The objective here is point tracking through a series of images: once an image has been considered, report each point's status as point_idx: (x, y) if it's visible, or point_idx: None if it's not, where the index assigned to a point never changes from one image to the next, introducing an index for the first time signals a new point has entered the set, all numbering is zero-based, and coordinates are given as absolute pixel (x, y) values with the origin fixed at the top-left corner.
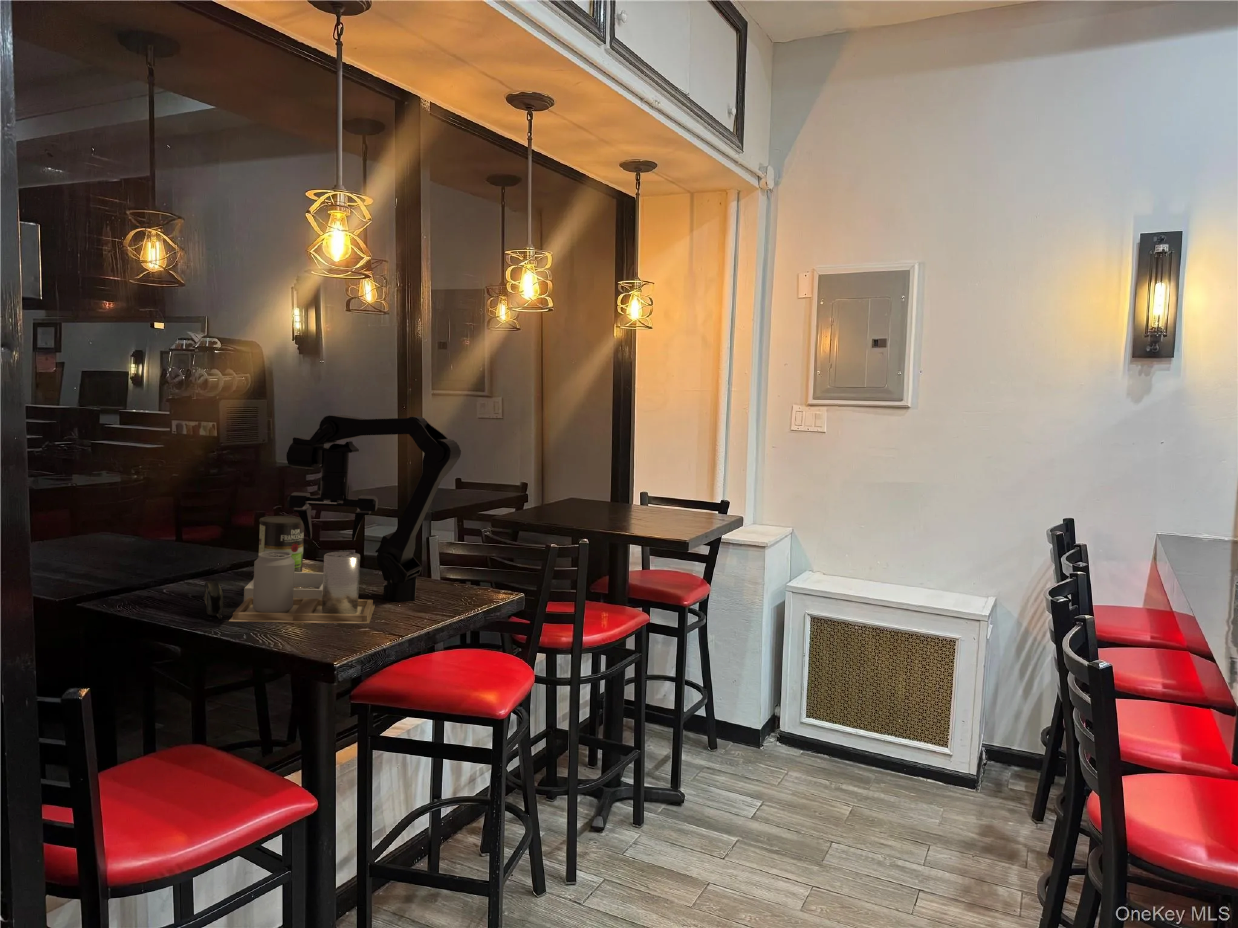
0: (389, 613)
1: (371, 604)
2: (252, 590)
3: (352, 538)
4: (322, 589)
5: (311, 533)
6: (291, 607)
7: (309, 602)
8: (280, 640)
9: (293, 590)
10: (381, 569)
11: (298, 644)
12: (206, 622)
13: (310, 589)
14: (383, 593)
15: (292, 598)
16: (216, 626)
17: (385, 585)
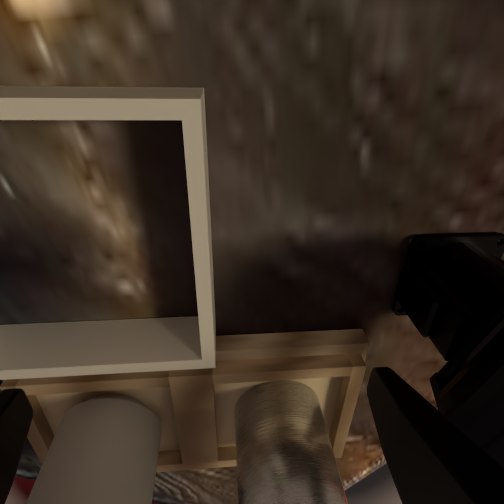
0: (395, 342)
1: (357, 393)
2: None
3: (376, 414)
4: (214, 362)
5: (1, 444)
6: (161, 433)
7: (195, 404)
8: (185, 482)
9: (153, 467)
10: (440, 411)
11: (220, 490)
12: None
13: (175, 366)
14: (407, 314)
15: (158, 454)
16: (28, 448)
17: (427, 336)
